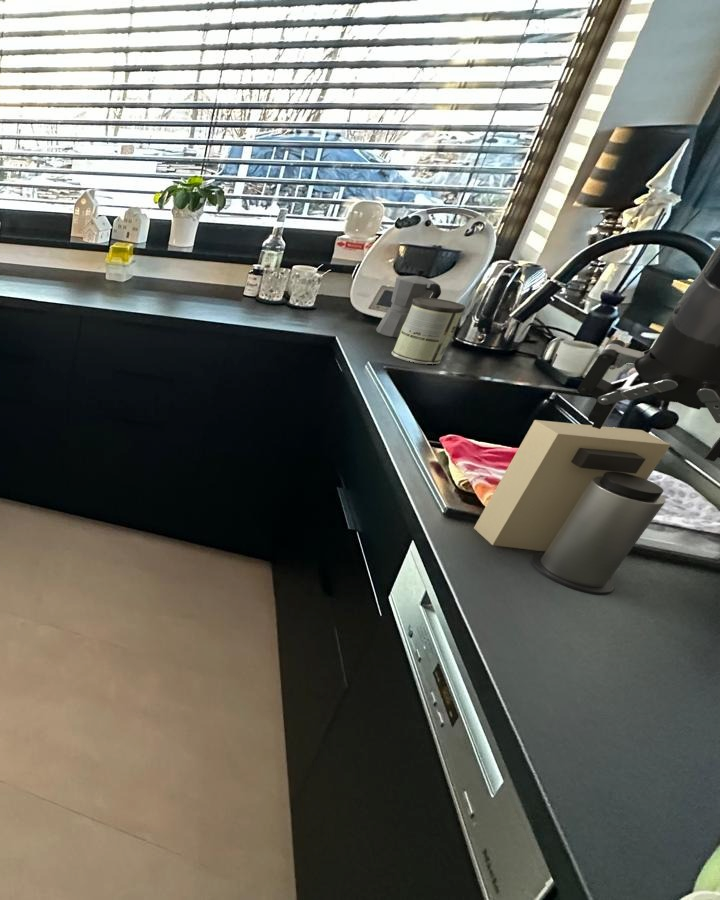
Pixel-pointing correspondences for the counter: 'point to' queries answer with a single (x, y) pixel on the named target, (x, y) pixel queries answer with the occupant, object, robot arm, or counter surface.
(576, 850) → the counter surface
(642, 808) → the counter surface
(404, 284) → the coffeepot
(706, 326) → the robot arm
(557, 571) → the grey canister
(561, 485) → the coffee maker
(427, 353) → the coffee can
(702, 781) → the counter surface
